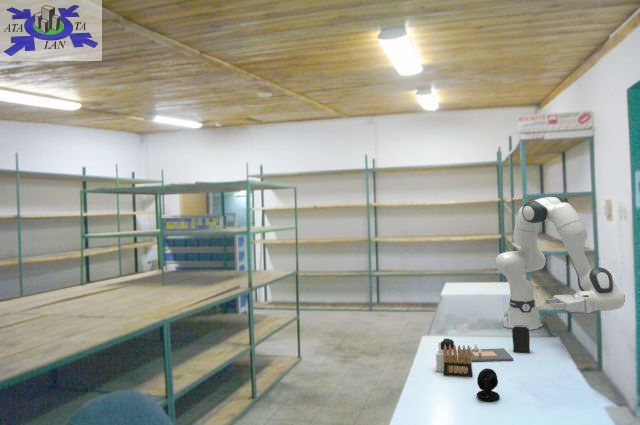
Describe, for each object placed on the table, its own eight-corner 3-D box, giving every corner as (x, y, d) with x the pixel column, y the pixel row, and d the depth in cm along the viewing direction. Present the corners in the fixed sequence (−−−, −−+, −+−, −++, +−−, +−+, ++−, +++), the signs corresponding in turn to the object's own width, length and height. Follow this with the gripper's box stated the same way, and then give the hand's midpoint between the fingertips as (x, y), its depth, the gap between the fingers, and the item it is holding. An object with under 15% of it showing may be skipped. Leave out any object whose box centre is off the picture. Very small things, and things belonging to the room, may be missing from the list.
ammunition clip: (472, 375, 194) (471, 344, 193) (472, 377, 192) (471, 346, 192) (444, 373, 197) (442, 343, 197) (443, 375, 196) (442, 344, 195)
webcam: (486, 404, 167) (485, 374, 167) (471, 396, 174) (470, 367, 174) (504, 399, 170) (503, 369, 170) (489, 391, 177) (487, 363, 177)
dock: (457, 351, 223) (457, 342, 223) (503, 350, 221) (503, 341, 221) (463, 362, 209) (463, 352, 209) (513, 360, 207) (512, 351, 207)
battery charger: (530, 350, 219) (529, 324, 219) (530, 353, 216) (529, 326, 215) (513, 349, 222) (512, 323, 222) (512, 352, 218) (511, 326, 218)
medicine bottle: (457, 367, 204) (456, 337, 203) (454, 373, 197) (453, 342, 197) (440, 365, 207) (438, 336, 206) (436, 371, 200) (435, 341, 200)
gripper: (573, 290, 225) (540, 292, 227) (591, 298, 205) (555, 300, 207) (574, 304, 225) (542, 306, 227) (592, 313, 205) (556, 315, 207)
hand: (548, 303), depth 217 cm, fingers open, 8 cm apart
